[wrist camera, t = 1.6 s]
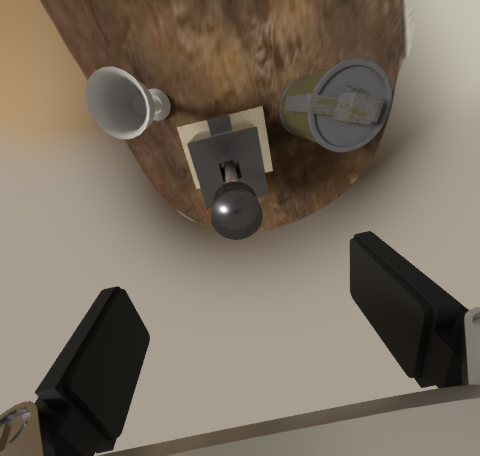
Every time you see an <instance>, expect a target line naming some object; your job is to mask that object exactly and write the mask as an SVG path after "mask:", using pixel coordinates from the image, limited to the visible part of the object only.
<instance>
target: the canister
mask: <svg viewBox="0 0 480 456" xmlns="http://www.w3.org/2000/svg"><path fill="white" fill-rule="evenodd" d="M391 104H392V89H391V83H390V80H389V77H388V76H387V74H386V72H385V70H384V69H383V68H381V67H380V66H379V65H378V64H377V63H375V62H373V61H371V60H369V59H362V58H353V59H349V60H345V61H343V62H340V63H338V64H337V65H335V66H334V67H332V68H329V69H326V70H323V71H320V72H317V73H314V74H309V75H304V76H301V77H298V78H296V79H295V80H294V81H292V82H291V83H290V84H289V85H288V86H287V87H286V89H285V91H284V92H283V94H282V97H281V100H280V105H279V116H280V119H281V122H282V124H283V126H284V128H285V129H286V130H287V131H288V132H289V133H291V134H292V135H294V136H298V137H303V138H306V139H308V140H311V141H313V142H316V143H318V144H320V145H321V146H323V147H324V148H326V149H328V150H331V151H335V152H349V151H353V150H356V149H358V148H361V147H362V146H364V145H365V144H367V143H368V142H369V141H370V140H372V139H373V138H374V137H375V136H376V135H377V134H378V132H379V131H380V130H381V128H382V127H383V125H384V123H385V122H386V119H387V117H388V114H389V112H390V108H391Z"/></svg>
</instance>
